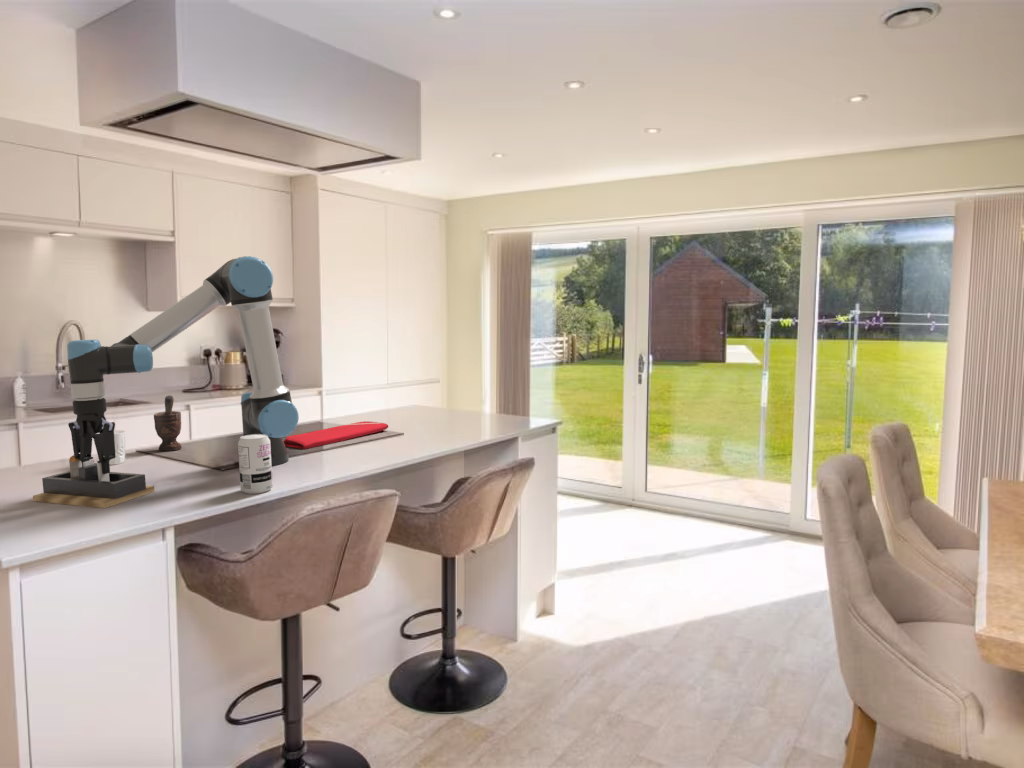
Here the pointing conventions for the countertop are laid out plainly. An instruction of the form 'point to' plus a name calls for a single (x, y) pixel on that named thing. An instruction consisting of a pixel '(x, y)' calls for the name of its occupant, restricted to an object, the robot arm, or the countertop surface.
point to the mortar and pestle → (168, 426)
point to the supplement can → (255, 463)
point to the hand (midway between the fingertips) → (97, 485)
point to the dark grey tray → (94, 484)
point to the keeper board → (84, 500)
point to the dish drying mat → (333, 434)
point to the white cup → (118, 448)
